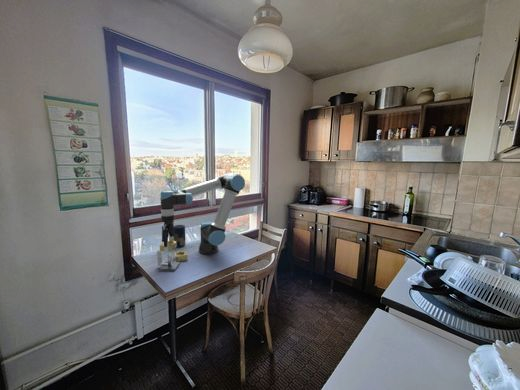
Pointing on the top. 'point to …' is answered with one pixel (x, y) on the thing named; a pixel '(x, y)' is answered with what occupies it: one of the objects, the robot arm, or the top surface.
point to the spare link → (180, 256)
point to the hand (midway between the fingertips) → (168, 248)
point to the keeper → (166, 263)
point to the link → (171, 245)
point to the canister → (179, 235)
